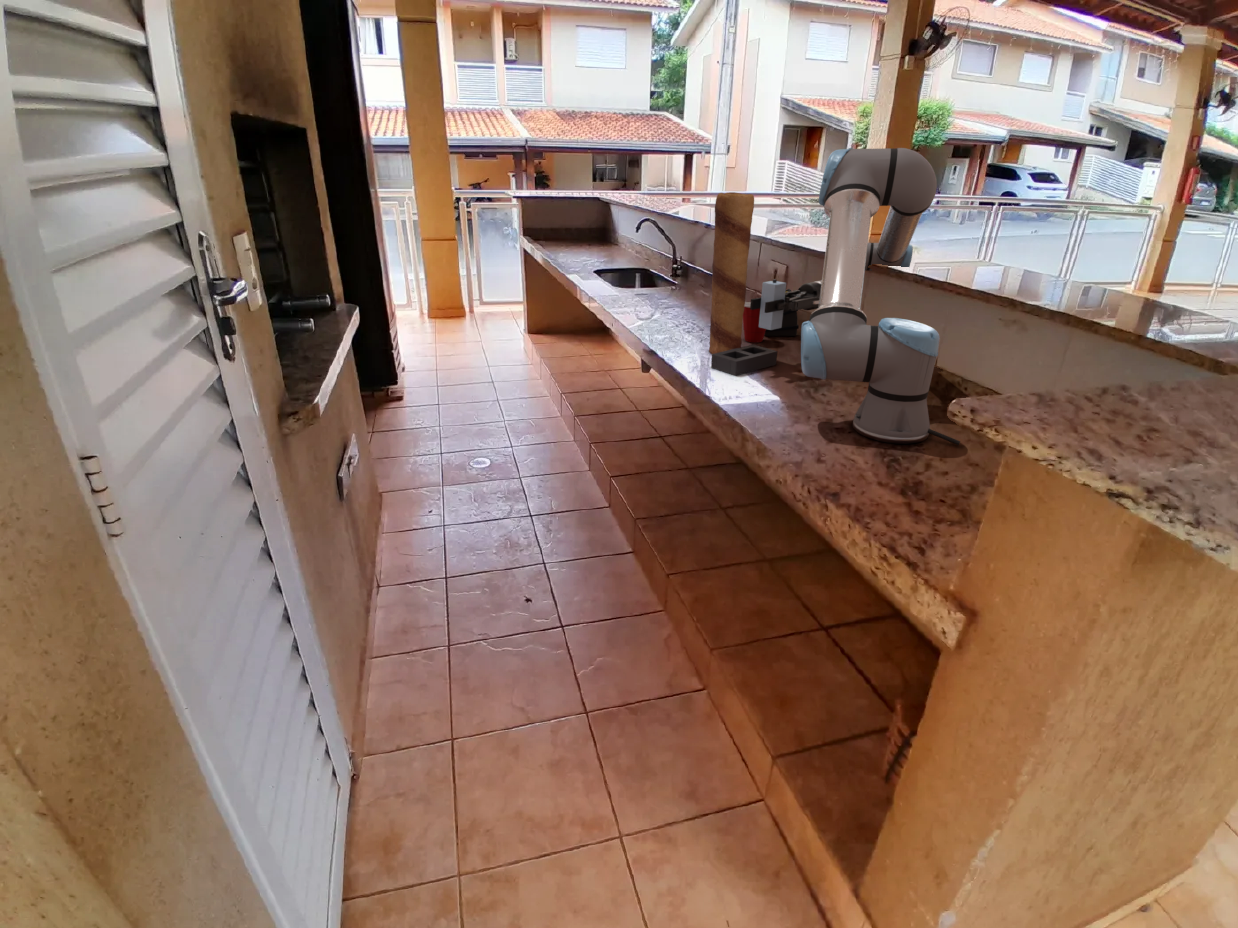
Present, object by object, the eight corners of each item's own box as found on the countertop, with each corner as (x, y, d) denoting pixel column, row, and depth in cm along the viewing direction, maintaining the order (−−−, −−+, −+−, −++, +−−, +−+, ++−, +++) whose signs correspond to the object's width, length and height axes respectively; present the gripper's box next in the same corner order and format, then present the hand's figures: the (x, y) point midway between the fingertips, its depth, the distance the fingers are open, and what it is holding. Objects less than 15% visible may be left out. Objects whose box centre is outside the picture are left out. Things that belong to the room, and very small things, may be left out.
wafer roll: (712, 346, 196) (721, 192, 176) (744, 349, 192) (758, 192, 172) (701, 354, 187) (710, 193, 167) (735, 358, 183) (748, 194, 163)
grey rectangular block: (781, 327, 168) (786, 279, 162) (770, 330, 166) (775, 281, 160) (769, 324, 171) (774, 277, 166) (758, 327, 169) (762, 279, 163)
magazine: (807, 331, 205) (792, 290, 199) (769, 348, 208) (754, 307, 202) (804, 328, 208) (789, 288, 203) (767, 345, 211) (752, 305, 205)
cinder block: (776, 364, 177) (777, 351, 175) (735, 375, 168) (736, 361, 166) (751, 357, 184) (752, 344, 182) (711, 367, 175) (711, 354, 173)
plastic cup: (775, 338, 203) (779, 302, 198) (763, 346, 195) (767, 308, 190) (744, 334, 209) (747, 298, 203) (732, 341, 200) (734, 304, 195)
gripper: (839, 314, 170) (782, 326, 158) (789, 303, 183) (733, 314, 171) (843, 286, 167) (786, 296, 155) (792, 278, 180) (735, 287, 168)
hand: (758, 306), depth 163 cm, fingers closed on grey rectangular block, 4 cm apart
